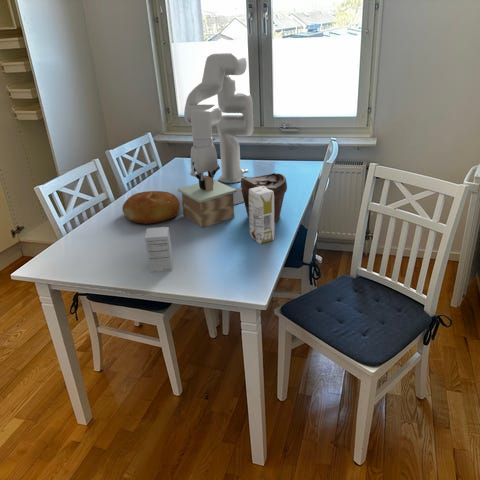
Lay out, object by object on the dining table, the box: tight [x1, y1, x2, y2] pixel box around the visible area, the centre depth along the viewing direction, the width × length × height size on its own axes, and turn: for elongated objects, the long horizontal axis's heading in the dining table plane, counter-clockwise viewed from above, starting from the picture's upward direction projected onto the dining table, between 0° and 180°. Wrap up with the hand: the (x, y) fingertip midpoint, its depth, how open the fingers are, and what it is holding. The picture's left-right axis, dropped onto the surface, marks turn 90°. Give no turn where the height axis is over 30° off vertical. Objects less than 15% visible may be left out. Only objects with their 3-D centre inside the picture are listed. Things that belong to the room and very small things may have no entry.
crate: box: [181, 193, 235, 229], centre depth 180 cm, size 15×15×11 cm
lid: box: [177, 174, 236, 203], centre depth 176 cm, size 17×17×6 cm
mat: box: [233, 187, 245, 206], centre depth 201 cm, size 16×16×1 cm
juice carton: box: [248, 186, 275, 245], centre depth 158 cm, size 8×9×19 cm
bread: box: [121, 190, 181, 225], centre depth 184 cm, size 23×23×10 cm
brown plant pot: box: [239, 173, 288, 223], centre depth 175 cm, size 18×20×18 cm
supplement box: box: [144, 226, 174, 273], centre depth 144 cm, size 7×7×13 cm
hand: (206, 187), depth 176 cm, fingers closed on lid, 3 cm apart
